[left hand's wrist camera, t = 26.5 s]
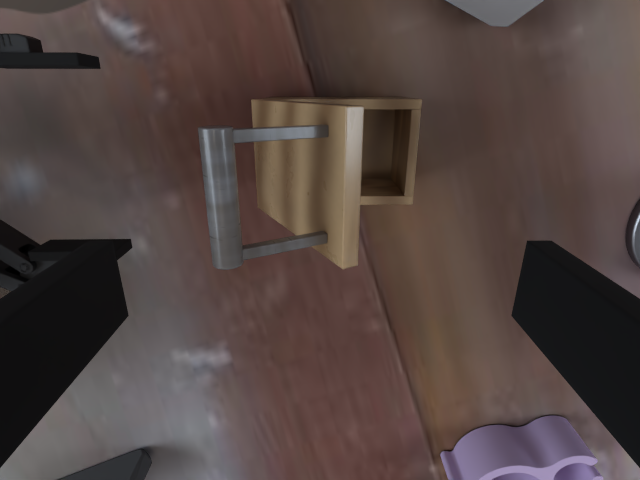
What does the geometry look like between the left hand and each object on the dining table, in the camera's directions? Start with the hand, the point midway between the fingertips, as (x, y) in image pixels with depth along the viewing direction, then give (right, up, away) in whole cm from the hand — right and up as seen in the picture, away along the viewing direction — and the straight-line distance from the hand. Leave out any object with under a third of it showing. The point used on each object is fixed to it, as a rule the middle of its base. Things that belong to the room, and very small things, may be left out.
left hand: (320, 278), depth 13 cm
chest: (+2, +12, +32) cm, 34 cm away
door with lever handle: (-1, +7, +17) cm, 18 cm away
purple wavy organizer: (+30, -32, +49) cm, 66 cm away
